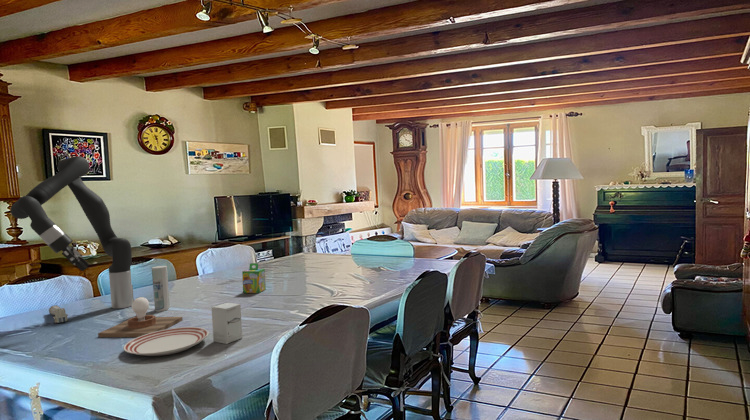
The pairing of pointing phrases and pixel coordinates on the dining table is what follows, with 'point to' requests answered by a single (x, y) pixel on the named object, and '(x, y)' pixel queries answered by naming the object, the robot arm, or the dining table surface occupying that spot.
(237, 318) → the supplement box
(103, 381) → the dining table surface
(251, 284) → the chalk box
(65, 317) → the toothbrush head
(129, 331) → the holder board
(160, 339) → the dinner plate
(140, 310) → the lightbulb
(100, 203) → the robot arm
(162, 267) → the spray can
